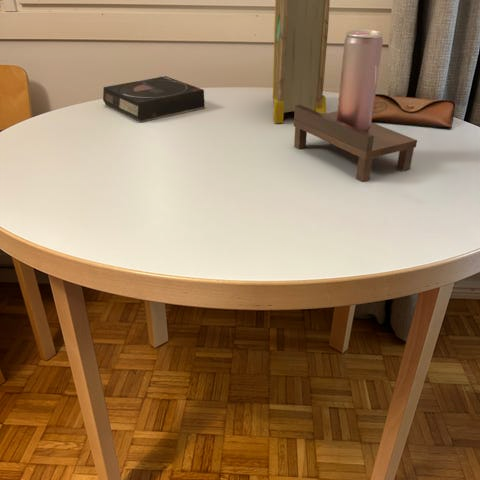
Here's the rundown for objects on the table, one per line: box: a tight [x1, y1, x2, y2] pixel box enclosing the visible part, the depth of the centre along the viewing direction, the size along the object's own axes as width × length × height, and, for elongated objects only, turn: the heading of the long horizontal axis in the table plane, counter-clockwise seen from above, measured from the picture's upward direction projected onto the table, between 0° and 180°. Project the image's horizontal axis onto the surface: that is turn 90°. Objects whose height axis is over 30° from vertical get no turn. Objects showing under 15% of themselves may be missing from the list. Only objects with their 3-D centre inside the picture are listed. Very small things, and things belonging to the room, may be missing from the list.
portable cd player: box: [102, 75, 206, 123], centre depth 120 cm, size 16×17×4 cm
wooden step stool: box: [293, 105, 418, 182], centre depth 93 cm, size 11×20×7 cm, turn 30°
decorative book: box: [272, 0, 331, 124], centre depth 109 cm, size 20×11×30 cm, turn 178°
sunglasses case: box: [372, 93, 456, 128], centre depth 112 cm, size 18×7×7 cm
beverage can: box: [336, 29, 384, 132], centre depth 88 cm, size 6×6×15 cm
